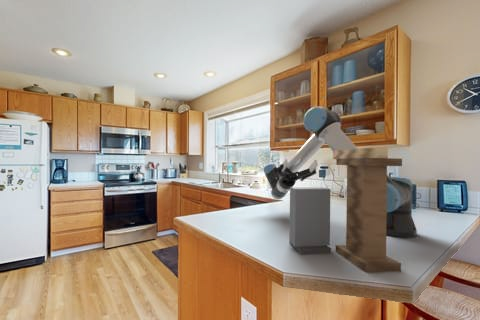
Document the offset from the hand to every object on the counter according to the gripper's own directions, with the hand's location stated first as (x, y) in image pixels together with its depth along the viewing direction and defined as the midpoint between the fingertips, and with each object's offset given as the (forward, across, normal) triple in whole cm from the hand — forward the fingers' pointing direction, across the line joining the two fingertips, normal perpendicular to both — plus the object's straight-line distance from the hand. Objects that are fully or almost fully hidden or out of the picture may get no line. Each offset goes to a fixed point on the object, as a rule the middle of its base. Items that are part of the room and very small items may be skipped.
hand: (301, 162), depth 102 cm
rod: (+26, -5, -13) cm, 29 cm away
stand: (+15, -6, -41) cm, 44 cm away
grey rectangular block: (+5, +7, -36) cm, 37 cm away
